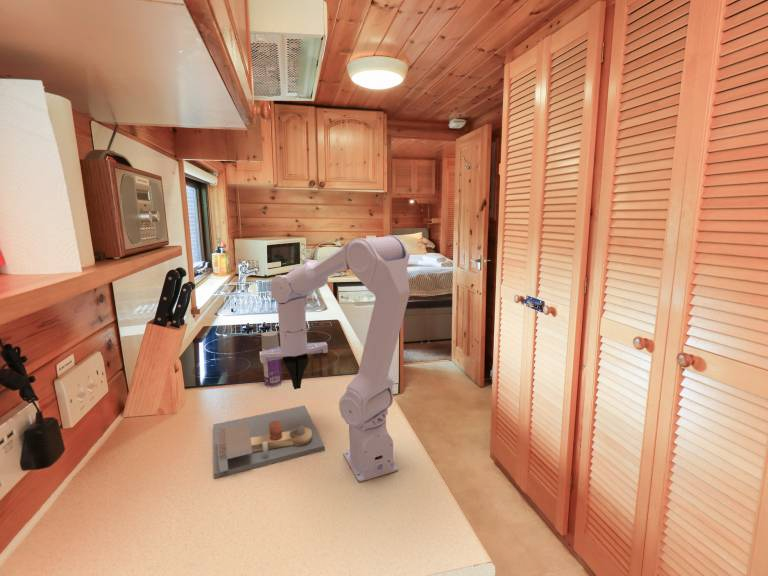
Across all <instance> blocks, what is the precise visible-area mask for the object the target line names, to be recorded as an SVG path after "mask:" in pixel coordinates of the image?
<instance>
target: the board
mask: <svg viewBox="0 0 768 576" xmlns="http://www.w3.org/2000/svg"><path fill="white" fill-rule="evenodd" d="M273 421H280V422H281V430H282V432H287V431H292V430H294V429H296V427H297V426H299V425H303V426H305V427H306V428H309V429H311V431H312V440H311V442H309V443H308V444H306V445H302V446H295V445H290V446H284V447H279V448H273V449H268V443H267V442H266V441H265V442H263V443H262V447H263V450H262V451H256V452H252V453H250V454H246V455H242V456H238V457H234V458H230V459H228V471H229V473H226V472H228V471H223V474H225V473H226V476H229V475H234V474H237V473H242V472H245V471H250V470H253V469H257V468H261V467H265V466H268V465H271V464H272V465H273V464H275V463H276V464H277V463H281V462H283V461H288V460H291V459H296V458H300V457H303V456H307V455H312V454H316V453H318V452H322V451H325V449H326V448H325V444H324V442H323V439H322V437H321V436H320V434H319V431H318V430H317V427H316V426H315V424H314V422H313V419H312V418H311V415H310V414H309V411H308V410H307V408H306V406H305V405H300V406H295V407H291V408H285V409H282V410H276V411H271V412H266V413H262V414H257V415H253V416H247V417H243V418H237V419H233V420H229V421H224V422H218V423H213V427H212V428H213V429H212V431H213V434H212V435H213V436H212V437H213V478H214V479H219V478H221V476H223V475H221V474H222V472H220V470H219V461H218V439H217V430H218V429H223V428H227V427H232V426H237V425H241V424H246V423H248V428H249V434H250V438H252V437H258V436H264V435H270V432H269V424H270V423H271V422H273ZM224 472H225V473H224ZM226 476H225V475H224V476H223V477H226Z"/></svg>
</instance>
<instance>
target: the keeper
mask: <svg viewBox="0 0 768 576" xmlns="http://www.w3.org/2000/svg"><path fill="white" fill-rule="evenodd" d="M217 439H218V461H219V470H220V472H222V474H221V475H223V476H221V477H227V475H226V473H229V471H228V459H230V458H234V457H238V456H242V455H246V454H250V453H252V445H251V440H250V434H249V428H248V423H246V424H241V425H237V426H232V427H227V428H223V429H218V430H217ZM223 471H228V472H226V473H225V472H224V473H225V474H223ZM224 475H225V476H224ZM221 477H220V478H221Z"/></svg>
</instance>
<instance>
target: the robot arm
mask: <svg viewBox="0 0 768 576" xmlns="http://www.w3.org/2000/svg"><path fill="white" fill-rule="evenodd" d="M410 257H411V254H410V253H409V251H408V249H407V247H406V246H405V244H404V242H403V241H402V240H401V238H399V236H396V235H391V234H387V235H385V236H378V237H369V238H368V237H367V238H364V237H363V238H362V237H360V238H355V239H353V240H351V241H349V242H345V243H344V244H343V246H341V247H339V248H338V249H336V250H335V251H334V252H332V253H330V254H329V255H327V256H326V257H325V258H323V259H322V260H320V261H319V260H316V259H308V258H307V259H304V260H302V261H301V265H300V266H298V267H296V268H294V267H293V268H290V269H289V270H288V273H287V274H283V275H281V274H278V275H275V276H274V277H273V278H272V280H271V282H270V287H269V288H270V294H271V296H272V298H273V299H274V301H275V302H277V313H278V328H279V329H278V331H279V347H277V348H274V349H270V350H266V351H259V353H258V354H259V361H260V363H261V364H263V363H265V362H266V361H271V360H277V359H280V360H282V362H283V364H284V367H286V369H287V371H288V373H289V376H290V379H291V383H292V387H293V389H294V390H297V389H298V390H299V389H301V387H302V386H301V385H302V381H303V377H304V372H305V371H306V368H307V366H308V364H309V362H310V361H309V360H310V359H309V357H308V356H309V355H314V354H319V353H323V354H326V353H327V354H328V351H329V350H328V348H329V347H328V343H327V342H326V341H324V342H323V341H321V342H308V336H307V318H306V315H307V314H306V306H307V305H308V297H309V295H310V293H312V292H315V291H317V290H319V289H321V288H322V287H324V286H326V285H327V283H328V281H329V277H331V276H333V275H335V274H337V273H339V272H342V271H344V270H348V271H349V270H350V271H351V272H352V274H353V275H355V277H356V278H357V280H359V281H360V282H361V284H363V286H365V288H366V290H368V291H369V292H370V293H372V294H373V295H374V297H375V299H374V304H373V309H372V311H371V316H370V320H369V321H370V322H369V326H368V330H367V334H366V338H365V342H364V347H363V351H362V355H361V359H360V362H359V363H360V364H359V368H358V372H357V374H356V375H355V376H354V377H353V379H352V380H351V381H350V382H349V383H348V385H347V387H346V391H345V392H344V394H343V395H342V396H341V397H340V399H339V403H338V409H339V412H340V415H341V418H342V419H343V420H344V421H345V423H346V424H347V425H348V437H349V450H345V451H344V452H343V456H344V457H345V460H346V461H347V463H348V465H349V467H350V469H351V471H352V472H353V474H354V476H355V479H356V480H357V481H358V482H360V483H361V482H363V481H368V480H371V479H374V478H377V477H381V476H384V475H387V474H390V473H391V474H392V473H394V472H397V471H398V470H399V467H398V465H397V464H396V463H395V462H394V441H393V438H392V437H391V435H390V434H389V431H388V429H387V415H388V414H389V413H388V409H389V408H390V407H391V406H392V405H393V403H394V392H393V391H394V390H393V386H394V383H395V382H394V380H393V379H392V378H391V377H390V375H389V374H390V369H391V365H392V362H393V358H394V354H395V351H396V345H397V343H398V339H399V334H400V331H401V327H402V324H403V320H404V317H405V312H406V310H407V305H408V301H409V299H410V292H411V290H410V283H409V282H410V281H409V274H408V265H409V260H410Z"/></svg>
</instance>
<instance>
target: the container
mask: <svg viewBox="0 0 768 576" xmlns="http://www.w3.org/2000/svg"><path fill="white" fill-rule="evenodd" d="M278 334H279V333H278V331H272V330H271V331H265V332H261V335H260V337H261V350H262V351H266V350H270V349H274V348H277V347H280V340H279V335H278ZM262 365H263V377H264V385H265V387H269V388H275V387H277V386H280V385H281V384H282V380H283V379H282V367H281V365H282V364H281V359H277V360H271V361H266V362H265V363H262Z"/></svg>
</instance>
